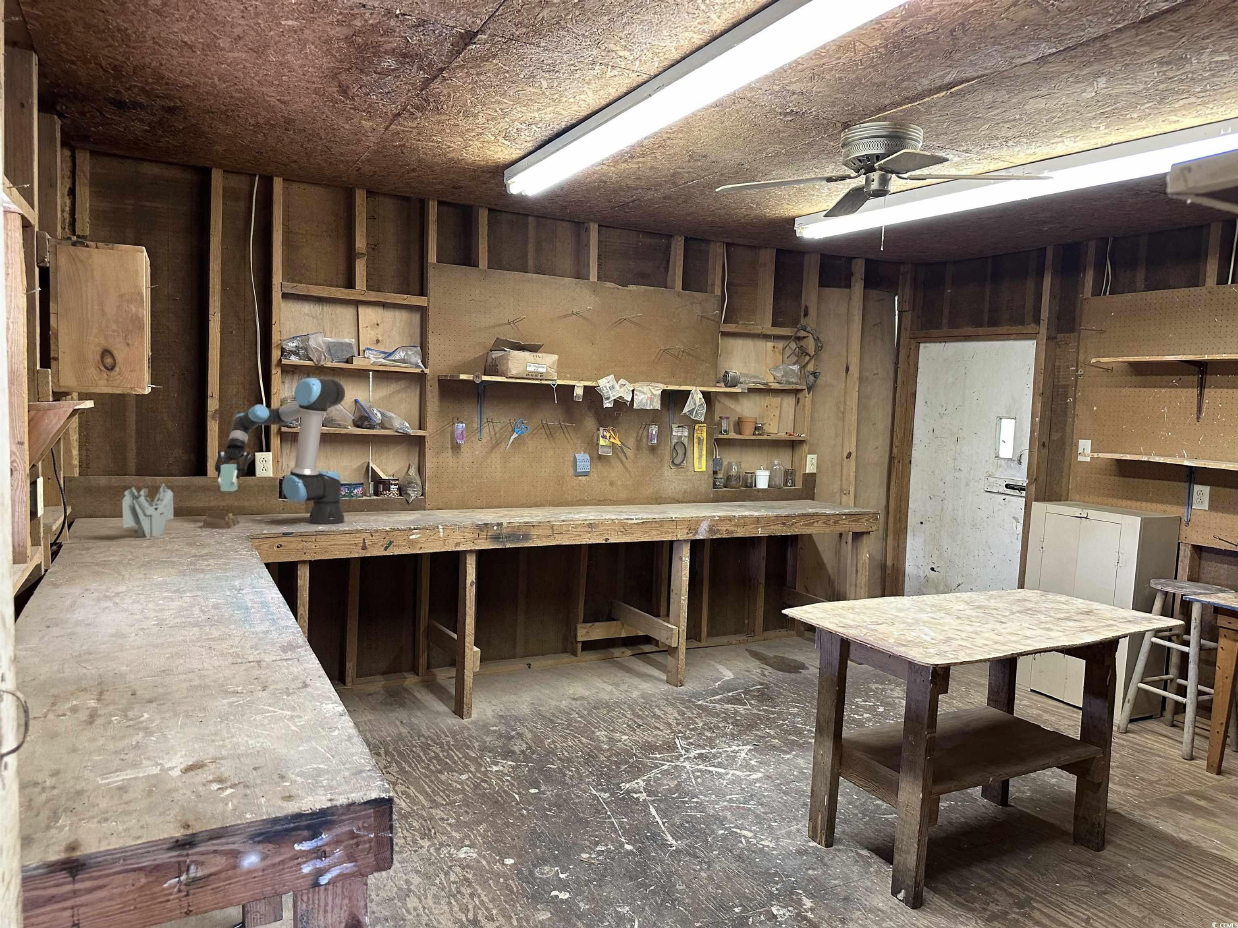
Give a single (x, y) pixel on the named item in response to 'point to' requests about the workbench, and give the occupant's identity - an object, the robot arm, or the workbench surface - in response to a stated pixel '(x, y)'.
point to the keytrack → (219, 520)
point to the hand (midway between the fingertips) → (226, 483)
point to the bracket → (147, 511)
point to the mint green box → (228, 477)
